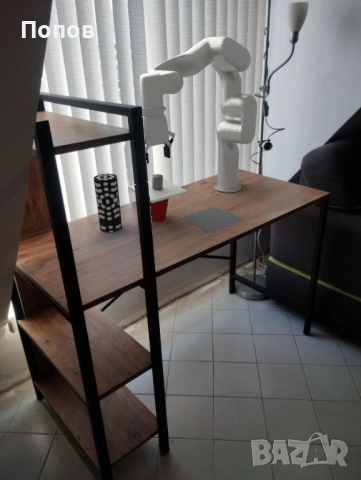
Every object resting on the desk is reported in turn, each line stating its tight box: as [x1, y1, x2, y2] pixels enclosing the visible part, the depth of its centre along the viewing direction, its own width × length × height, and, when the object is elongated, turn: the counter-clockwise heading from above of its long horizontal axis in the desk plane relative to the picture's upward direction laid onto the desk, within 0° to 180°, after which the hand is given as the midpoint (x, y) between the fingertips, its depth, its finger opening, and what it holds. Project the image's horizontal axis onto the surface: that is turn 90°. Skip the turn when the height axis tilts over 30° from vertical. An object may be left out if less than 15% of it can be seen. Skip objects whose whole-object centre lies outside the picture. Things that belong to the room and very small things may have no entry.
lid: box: [127, 173, 188, 203], centre depth 146 cm, size 16×16×6 cm
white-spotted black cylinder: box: [93, 173, 123, 233], centre depth 142 cm, size 8×8×20 cm
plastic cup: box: [150, 198, 170, 223], centre depth 150 cm, size 11×11×12 cm
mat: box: [180, 206, 246, 233], centre depth 151 cm, size 18×18×1 cm
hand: (156, 160), depth 142 cm, fingers open, 9 cm apart
